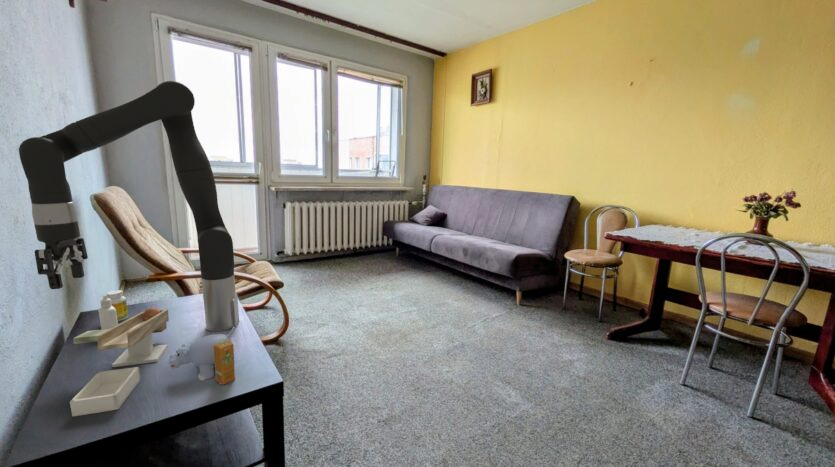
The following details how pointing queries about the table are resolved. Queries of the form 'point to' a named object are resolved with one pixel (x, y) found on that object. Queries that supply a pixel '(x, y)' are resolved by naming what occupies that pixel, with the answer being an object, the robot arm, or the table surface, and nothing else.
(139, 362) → the chute stand
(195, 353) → the hippopotamus toy
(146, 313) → the ball
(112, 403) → the bin
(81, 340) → the tilting chute
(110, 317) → the eye dropper bottle
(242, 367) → the table surface
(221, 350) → the supplement box
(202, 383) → the table surface
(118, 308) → the supplement bottle
